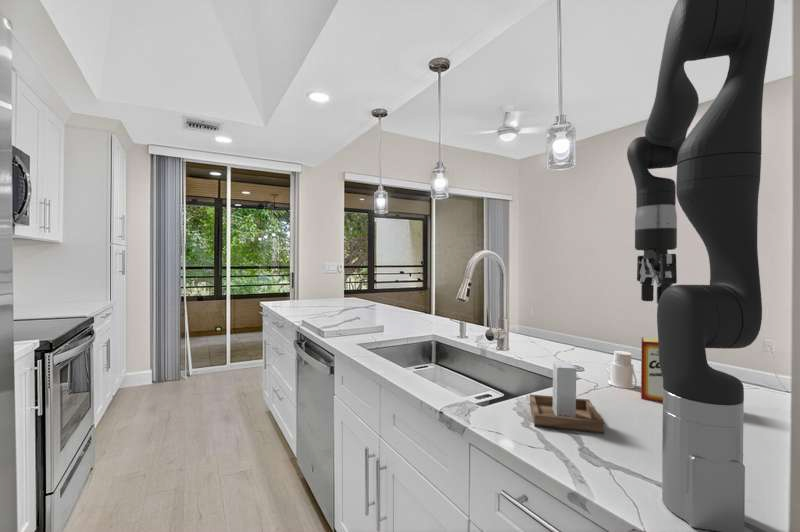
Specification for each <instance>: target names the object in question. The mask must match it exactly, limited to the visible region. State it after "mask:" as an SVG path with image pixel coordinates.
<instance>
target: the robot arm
mask: <svg viewBox="0 0 800 532" xmlns="http://www.w3.org/2000/svg"><path fill="white" fill-rule="evenodd" d="M774 12H775V0H677V2H676V3H675V5H674V7H673V10H672V11H671V14H670V18H669V21H668V23H667V24H668V25H667V29H666V32H665V33H666V34H665V38H664V39H665V40H664V44H663V49H662V56H661V61H660V66H659V71H658V79H657V87H656V93H655V97H654V102H653V105H652V108H651V111H650V114H649V117H648V120H647V122H646V125H645V129H644V134H645V135H643V136H639V137H635V138H634V139H633V140H632V141H631V142H630V144H629V145H628V147H627V150H626V159H627V161H628V165H629V167H630V171H631V173H632V176H633V180H634V184H635V190H636V191H635V192H636V194H635V195H636V199H635V200H636V201H635V202H636V203H635V204H636V209H635V217H634V249H635V250H636V251H643V255H637V260H636V261H637V262H636V265H637V266H636V281H637V282H639V284H640V285H641V286H640V287H641V288H640V289H641V295H640V296H641V297H640V299H641V301H643V302H653V301H654V293H655V292H654V283H656V284H655V285H656V304H657V309H656V325H657V338H658V345H659V364H660V369H661V373H662V377H663V402H662V442H661V443H662V445H661V446H662V451H661V452H662V453H661V454H662V455H661V457H662V460H661V461H662V462H661V464H662V465H661V467H662V468H661V469H662V470H661V482H662V483H661V489H662V490H661V500H662V503H663V504H664V506H665V508H667V509H668V510H669V511H670V512H671V513H673V514H674V515H675V516H677V517H679V518H681V519H682V520H684V521H685V522H687V524H689V526H690V527H692V528H695V529H701V530H702V529H703V530H707V531H709V530H710V531H716V532H745V527H746V526H745V517H746V515H745V513H746V511H745V508H746V507H745V506H746V503H745V501H746V496H745V495H746V492H745V491H746V466H745V465H744V417H745V416H744V415H745V413H744V410H745V409H744V408H745V407H744V405H745V403H744V402H745V399H744V398H745V397H744V396H745V391H744V390H745V389H744V384H743V382H742V381H741V380H740V379H739V378H738V377H736V376H734V375H732V374H729V373H727V372H724V371H721V370H717V369H715V368H713V367H711V366H710V364H709V363H708V360H707V351H706V349H724V350H725V349H734V350H735V349H742V348H747V347H748V346H750V345H752V344H753V343H754V342H755V341H756V340H757V338H758V336H759V334H760V330H761V327H762V320H763V302H762V301H763V299H762V291H761V288H762V287H761V276H760V266H759V265H760V264H759V253H758V250H759V249H758V223H759V222H758V221H759V218H758V217H759V212H758V211H759V191H760V185H761V167H762V134H763V133H762V130H763V129H762V128H763V127H762V124H763V123H762V121H763V120H762V119H763V116H762V115H763V114H762V113H763V99H764V88H765V87H764V84H765V77H766V69H767V64H768V62H767V61H768V55H769V51H770V50H769V49H770V42H771V35H772V28H773V23H774V22H773V20H774V14H775V13H774ZM723 56H724V57H728V58H729V63H728V64H729V66H728V71H727V74H726V78H725V80H724V83H723V85H722V87H721V89H720V90H719V91H718V94H717V95H716V97H715V98H714V100H713V101H712V103H711V105H710V106H709V107H708V108H707V110H706V111H705V112H704V114H703V115H702V116H701V118H700V119H699V120H698V121H697V123H696V124H695V125H694V127H693V128H692V129H691V130H690V132H689V133H688V130H689V128H690V126H691V124H692V122H694V118H695V116H696V114H697V112H698V109H699V104H700V103H699V100H700V99H699V95H698V92H697V90H696V88H695V86H694V84H693V83H692V81H691V80H690V78H689V77H688V74H687V73H686V71H685V70H686V69H685V63H687V62H692V61H693V62H694V61H699V60H706V59H713V58H719V57H720V58H721V57H723ZM687 134H688V135H687ZM674 167H676V181H675V180H674V179H672V178H669V177H663V176H660V177H659V176H656V175H653V173H651V172H650V171H649V170H656V169H667V168H674ZM676 198H677V199H676ZM676 200H677V201H678V204H679V206H680V208H681V210H682V211H683V213H684V215H685V216H686V218H687V219H688V221H689V223H690V224H691V226H692V227H693V228H694V229H695V231H696V233H697V234H698V235H699V237H700V239H701V240H702V242H703V244H704V246H705V249H706V251H707V255H708V260H709V261H708V262H709V284H677V281H678V279H677V278H678V277H677V254H676V253H669V251H670V250H671V251H674V250H676V249H677V248H678V247H677V245H678V215H677V209H676V202H677V201H676ZM675 284H676V285H675Z"/></svg>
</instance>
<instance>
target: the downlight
mask: <svg viewBox="0 0 800 532" xmlns="http://www.w3.org/2000/svg"><path fill="white" fill-rule="evenodd" d="M632 355H633V354H632V353H631V352H629V351H625V350H613V361H612V360H611V361H610V365H607V366H606V367H607V369H606V371H607V376H608V378H609V379H608V380H607V383H608V384H609V385H611V386H613V387H616V388H620V389H626V390H627V389H634V388H635V386H637V377H636V374H635V370H634V364H632ZM609 367H610V368H609ZM609 369H610V371H609ZM633 379H634V384H633Z"/></svg>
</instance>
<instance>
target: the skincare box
mask: <svg viewBox="0 0 800 532" xmlns="http://www.w3.org/2000/svg"><path fill="white" fill-rule="evenodd" d="M552 396H553V407H552V409H553V411H554V414H555V416H564V417H574V418H576V398H577V368H576V367H575V366H574V364H572V362H568V361H555V360H554V361H553V362H552Z"/></svg>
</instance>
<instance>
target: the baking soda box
mask: <svg viewBox="0 0 800 532" xmlns="http://www.w3.org/2000/svg"><path fill="white" fill-rule="evenodd" d="M640 343H641V347H640V348H641V353H640V355H641V357H640V360H641V361H640V366H641V367H640V373H641V374H640V396H641V397H640V398H641V400H646V401H652V402H656V403H657V402H658V403H663V377H662V373H661V369H660V364H659V345H658V337H641V341H640Z"/></svg>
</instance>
